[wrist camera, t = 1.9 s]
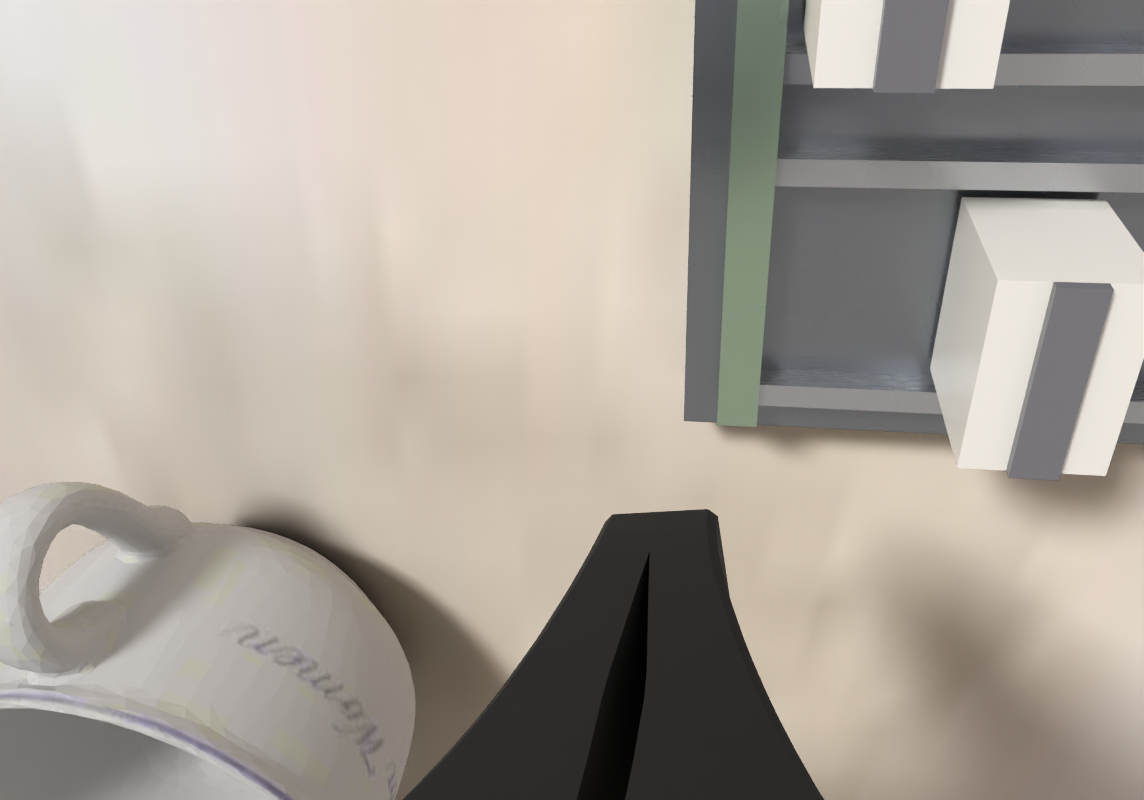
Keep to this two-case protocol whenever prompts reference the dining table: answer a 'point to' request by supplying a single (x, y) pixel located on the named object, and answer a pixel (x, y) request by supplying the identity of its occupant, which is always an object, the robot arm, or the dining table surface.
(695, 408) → the panel
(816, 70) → the breaker
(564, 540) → the dining table surface
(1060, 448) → the breaker
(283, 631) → the teacup
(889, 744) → the dining table surface
